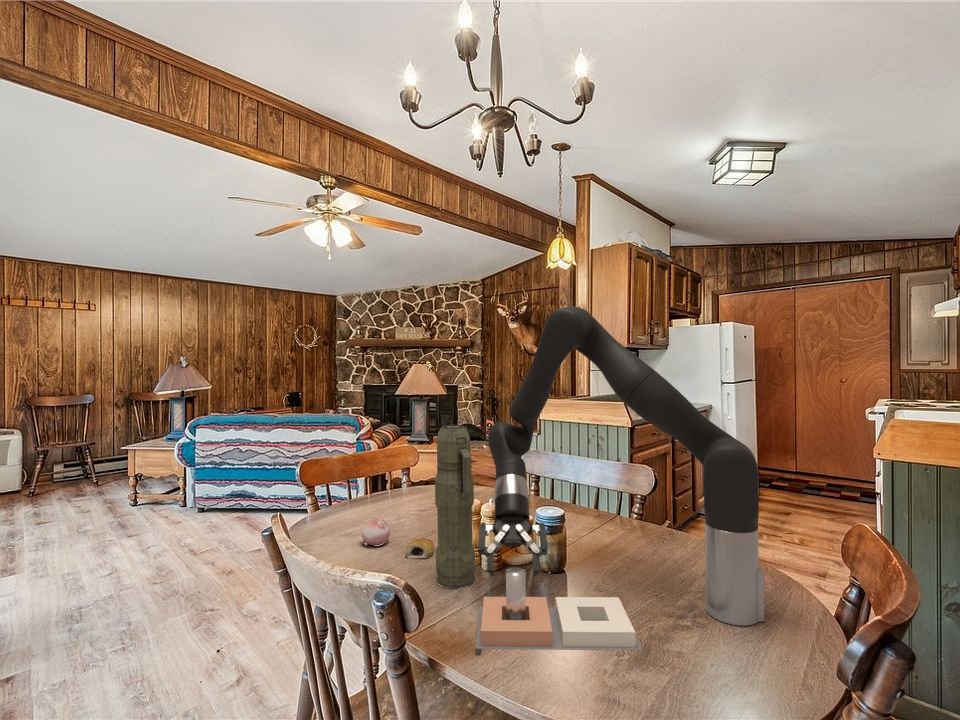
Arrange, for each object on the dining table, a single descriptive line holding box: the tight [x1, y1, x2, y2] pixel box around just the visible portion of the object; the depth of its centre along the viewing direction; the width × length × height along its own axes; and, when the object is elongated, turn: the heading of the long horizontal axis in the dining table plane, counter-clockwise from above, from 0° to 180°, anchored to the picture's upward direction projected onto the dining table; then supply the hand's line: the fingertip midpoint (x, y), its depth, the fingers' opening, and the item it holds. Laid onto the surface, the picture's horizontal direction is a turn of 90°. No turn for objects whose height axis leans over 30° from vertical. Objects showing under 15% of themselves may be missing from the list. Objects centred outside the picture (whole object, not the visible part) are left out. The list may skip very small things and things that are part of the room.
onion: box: [361, 517, 391, 546], centre depth 135 cm, size 8×8×7 cm
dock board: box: [475, 596, 643, 655], centre depth 90 cm, size 28×14×4 cm, turn 87°
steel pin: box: [505, 567, 527, 620], centre depth 91 cm, size 4×4×10 cm
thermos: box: [434, 424, 476, 589], centre depth 112 cm, size 9×12×35 cm
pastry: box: [405, 537, 435, 558], centre depth 129 cm, size 9×7×4 cm
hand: (513, 574), depth 98 cm, fingers open, 8 cm apart
